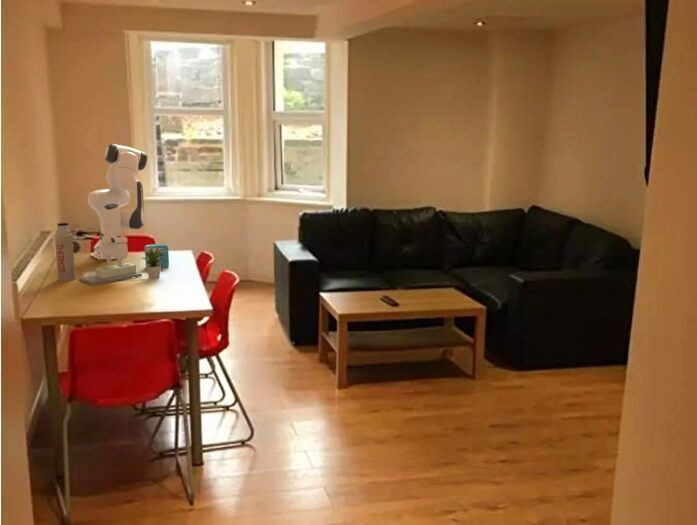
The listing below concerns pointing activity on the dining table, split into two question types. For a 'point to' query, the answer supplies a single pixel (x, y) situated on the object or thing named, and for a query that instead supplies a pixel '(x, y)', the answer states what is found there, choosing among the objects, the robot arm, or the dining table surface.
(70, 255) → the thermos bottle
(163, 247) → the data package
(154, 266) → the house plant
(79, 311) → the dining table surface
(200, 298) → the dining table surface
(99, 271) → the cream rectangular bar
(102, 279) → the boss board
